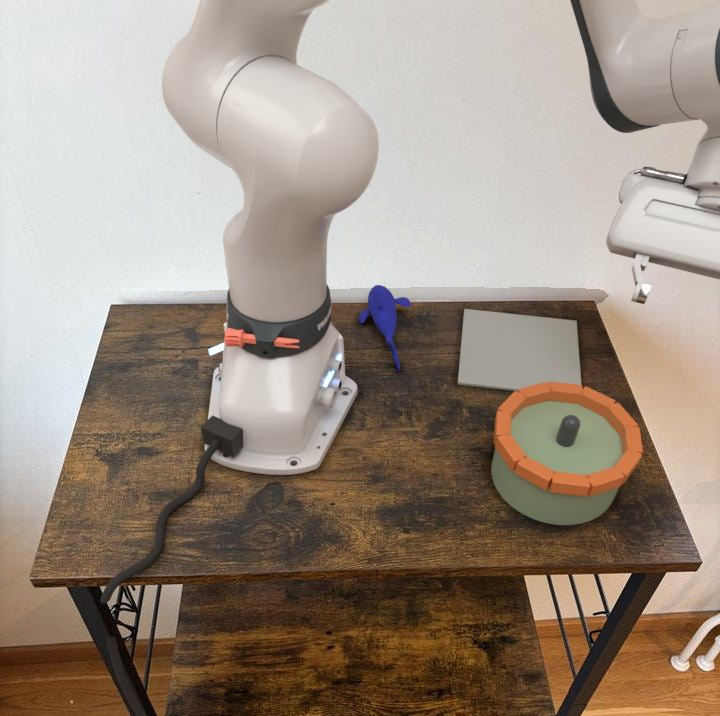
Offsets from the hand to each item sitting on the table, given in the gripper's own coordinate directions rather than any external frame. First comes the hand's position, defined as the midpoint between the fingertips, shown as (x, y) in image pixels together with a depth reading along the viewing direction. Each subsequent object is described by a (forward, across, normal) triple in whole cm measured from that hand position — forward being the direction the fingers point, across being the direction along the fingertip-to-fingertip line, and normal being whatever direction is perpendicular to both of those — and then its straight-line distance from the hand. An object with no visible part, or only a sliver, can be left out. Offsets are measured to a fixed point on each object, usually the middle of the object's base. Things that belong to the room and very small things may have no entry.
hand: (682, 313), depth 78 cm
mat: (+7, -17, +18) cm, 25 cm away
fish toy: (+10, -34, +15) cm, 39 cm away
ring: (+16, -7, 0) cm, 18 cm away
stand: (+21, -7, +4) cm, 22 cm away
